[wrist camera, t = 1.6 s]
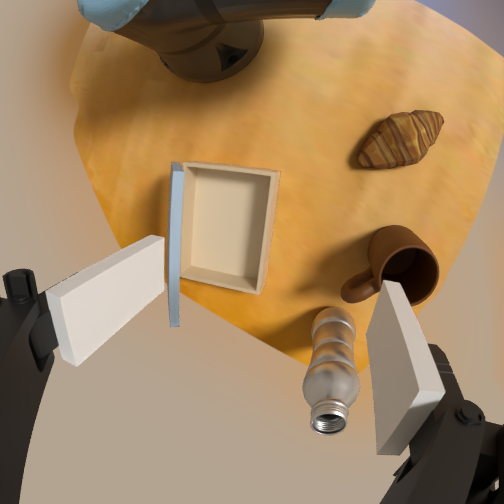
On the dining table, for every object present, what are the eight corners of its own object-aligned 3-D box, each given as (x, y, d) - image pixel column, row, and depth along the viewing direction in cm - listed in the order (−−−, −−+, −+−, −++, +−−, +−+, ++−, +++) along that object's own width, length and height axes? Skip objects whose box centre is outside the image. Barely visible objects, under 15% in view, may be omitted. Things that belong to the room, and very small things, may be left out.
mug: (349, 296, 41) (352, 332, 32) (328, 249, 40) (328, 276, 31) (425, 264, 37) (447, 293, 28) (408, 214, 35) (430, 231, 27)
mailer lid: (179, 162, 36) (171, 161, 36) (184, 171, 25) (173, 171, 25) (174, 278, 41) (167, 278, 41) (179, 326, 31) (170, 326, 30)
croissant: (371, 186, 36) (377, 190, 31) (344, 140, 35) (347, 138, 30) (450, 141, 31) (466, 140, 26) (425, 96, 30) (438, 89, 25)
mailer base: (196, 161, 40) (183, 162, 37) (280, 171, 38) (275, 172, 34) (189, 266, 46) (177, 276, 42) (265, 283, 43) (259, 295, 40)
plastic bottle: (316, 342, 44) (302, 445, 26) (308, 305, 43) (288, 405, 24) (357, 336, 42) (363, 440, 24) (351, 297, 41) (359, 397, 22)
